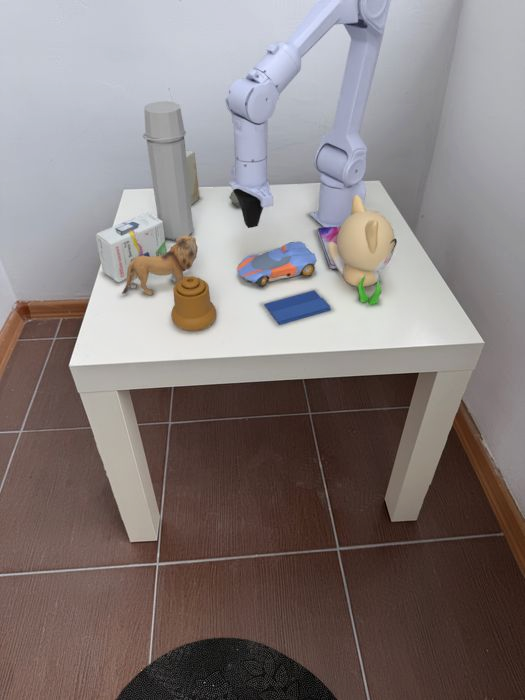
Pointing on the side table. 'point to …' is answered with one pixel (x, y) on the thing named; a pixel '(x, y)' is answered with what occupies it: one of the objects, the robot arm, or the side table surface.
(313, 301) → the cloth
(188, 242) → the lion figurine
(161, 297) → the side table surface
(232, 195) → the stone
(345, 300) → the side table surface
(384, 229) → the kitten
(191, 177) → the box
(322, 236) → the smartphone
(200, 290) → the ornamental finial
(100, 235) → the ink box
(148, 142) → the water bottle
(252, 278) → the toy car
